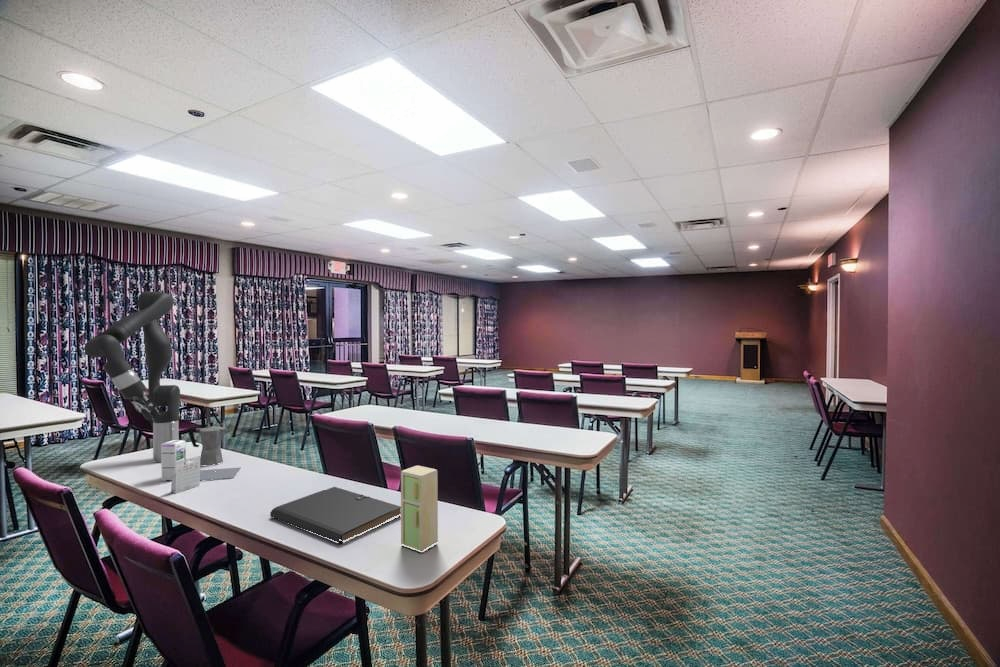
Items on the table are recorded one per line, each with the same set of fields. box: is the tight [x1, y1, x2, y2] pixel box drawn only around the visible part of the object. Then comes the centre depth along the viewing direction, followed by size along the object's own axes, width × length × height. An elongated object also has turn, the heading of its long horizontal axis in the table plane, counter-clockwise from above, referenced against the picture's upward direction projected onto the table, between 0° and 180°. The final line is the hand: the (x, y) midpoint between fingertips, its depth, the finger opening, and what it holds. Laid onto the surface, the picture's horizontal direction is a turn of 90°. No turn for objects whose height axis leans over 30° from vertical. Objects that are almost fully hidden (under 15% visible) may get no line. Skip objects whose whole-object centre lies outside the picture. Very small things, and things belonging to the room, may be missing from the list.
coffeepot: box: [188, 421, 229, 466], centre depth 202 cm, size 15×9×18 cm, turn 103°
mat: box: [200, 466, 241, 482], centre depth 186 cm, size 18×14×1 cm
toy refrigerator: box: [400, 465, 439, 551], centre depth 128 cm, size 8×7×21 cm
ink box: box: [170, 455, 201, 494], centre depth 170 cm, size 3×9×12 cm, turn 160°
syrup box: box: [161, 439, 187, 481], centre depth 182 cm, size 6×6×14 cm
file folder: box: [269, 486, 401, 543], centre depth 147 cm, size 33×4×24 cm
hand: (154, 418), depth 181 cm, fingers open, 8 cm apart
